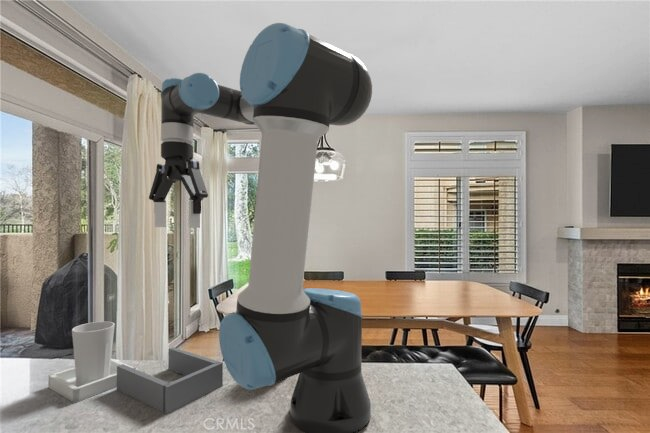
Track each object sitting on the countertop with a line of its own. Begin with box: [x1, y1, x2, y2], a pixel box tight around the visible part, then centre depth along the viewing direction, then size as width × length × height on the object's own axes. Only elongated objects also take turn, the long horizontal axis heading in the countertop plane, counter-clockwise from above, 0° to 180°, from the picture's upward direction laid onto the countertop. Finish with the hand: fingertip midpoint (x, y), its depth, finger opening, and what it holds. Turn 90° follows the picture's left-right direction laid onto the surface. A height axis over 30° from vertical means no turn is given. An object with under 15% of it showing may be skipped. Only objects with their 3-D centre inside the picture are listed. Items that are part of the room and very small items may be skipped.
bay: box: [116, 346, 224, 415], centre depth 76 cm, size 18×13×5 cm
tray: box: [47, 357, 137, 404], centre depth 78 cm, size 12×12×3 cm
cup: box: [71, 321, 116, 387], centre depth 78 cm, size 8×8×12 cm
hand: (176, 227), depth 88 cm, fingers open, 13 cm apart
